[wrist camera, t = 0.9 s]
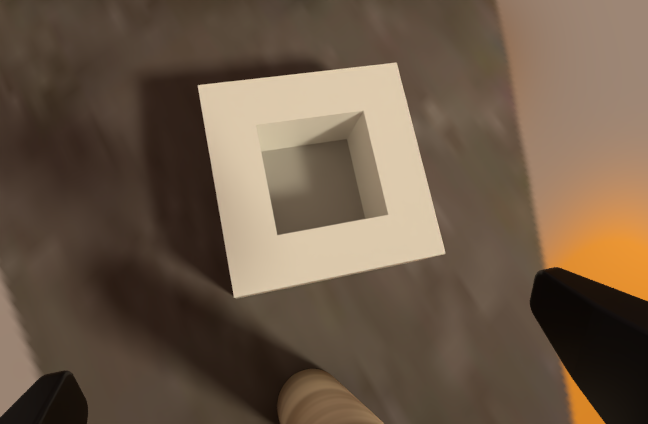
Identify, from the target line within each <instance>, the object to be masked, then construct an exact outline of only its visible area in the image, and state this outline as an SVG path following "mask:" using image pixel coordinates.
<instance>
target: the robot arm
mask: <svg viewBox="0 0 648 424" xmlns="http://www.w3.org/2000/svg"><path fill="white" fill-rule="evenodd" d="M530 307H531V310H532V313H533V315H534V316H535V318H536V320H537V321H538V323H539V325H540V326H541V328H542V330H543V331H544V333H545V335H546V336H547V338H548V340H549V341H550V343H551V344H552V346H553V348H554V349H555V351H556V353H557V354H558V356H559V358H560V359H561V361H562V363H563V364H564V366H565V368H566V369H567V371H568V372H569V374H570V375H571V377H572V378H573V380H574V381H575V383H576V384H577V386H578V387H579V388H580V390H581V391H582V392H583V394H584V395H585V396H586V397H587V399H588V400H589V402H590V403H591V405H592V406H593V407H594V409H595V410H596V411H597V412H598V414H599V415H600V417H601V418H602V419H603V421H604V422H605V423H606V424H648V301H645V300H643V299H640V298H638V297H635V296H632V295H630V294H627V293H625V292H622V291H619V290H617V289H614V288H611V287H609V286H606V285H604V284H601V283H598V282H595V281H593V280H590V279H588V278H585V277H582V276H580V275H577V274H575V273H572V272H569V271H567V270H564V269H562V268H558V267H554V268H549V269H544V270H540V271H538V272H537V274H536V275H535V278H534V283H533V288H532V293H531V298H530ZM87 418H88V405H87V401H86V398H85V397H84V395H83V393H82V391H81V389H80V387H79V385H78V383H77V381H76V379H75V377H74V376H73V374H72V373H71V372H70V371H60V372H55V373H50V374H46V375H44V376H42V377H40V378H39V379H38V380H37V381H36V382H35V383H34V384H33V385H32V386H31V387H30V388H29V389H28V390H27V391H26V392H25V393H24V394H23V395H22V396H21V397H20V398H19V399H18V400H17V401H16V402H15V403H14V404H13V405H12V406H11V407H10V408H9V409H8V410H7V411H6V412H5V413H4V414H3V415H2V416H1V417H0V424H87Z"/></svg>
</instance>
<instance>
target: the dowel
mask: <svg viewBox="0 0 648 424" xmlns="http://www.w3.org/2000/svg"><path fill="white" fill-rule="evenodd" d="M277 412H278V417H279V422H280V424H384V423H383V422H382V421H381V420H380V419H379V418H378V417H376V416H375V415H374V414H373V413H372V412H371V411H370V410H369V409H368V408H367V407H366V406H365V405H363V404H362V403H361V402H360V401H359V400H358V399H357V398H356V397H355V396H354V395H353V394H352V393H350V392H349V391H348V390H347V389H346V388H345V387H344V386H343V385H342V384H341V383H340V382H338V381H337V380H336V379H335V378H334V377H333V376H332V375H330V374H329V373H327V372H325V371H323V370H319V369H306V370H302V371H299V372H297V373H296V374H294V375H293V376H291V377H290V378H289V379H288V380H287V381H286V382H285V384H284V385H283V387H282V389H281V391H280V393H279V397H278V402H277Z"/></svg>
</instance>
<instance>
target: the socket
mask: <svg viewBox="0 0 648 424" xmlns="http://www.w3.org/2000/svg"><path fill="white" fill-rule="evenodd" d="M198 90H199V96H200V102H201V108H202V114H203V120H204V125H205V131H206V137H207V143H208V149H209V155H210V160H211V166H212V172H213V178H214V184H215V189H216V195H217V201H218V207H219V213H220V219H221V224H222V230H223V236H224V242H225V248H226V254H227V259H228V265H229V271H230V277H231V283H232V289H233V294H234V298H237V299H238V298H243V297H248V296H252V295H257V294H262V293H267V292H271V291H276V290H281V289H286V288H290V287H295V286H300V285H305V284H310V283H314V282H319V281H324V280H329V279H333V278H338V277H343V276H348V275H352V274H357V273H362V272H367V271H372V270H376V269H381V268H386V267H391V266H395V265H400V264H405V263H410V262H414V261H418V260H422V259H426V258H430V257H434V256H438V255H442V254H445V250H444V246H443V242H442V238H441V234H440V230H439V226H438V222H437V218H436V215H435V211H434V207H433V203H432V199H431V195H430V191H429V187H428V183H427V179H426V176H425V172H424V168H423V164H422V160H421V156H420V152H419V148H418V144H417V140H416V137H415V133H414V129H413V125H412V121H411V117H410V113H409V109H408V105H407V101H406V98H405V94H404V90H403V86H402V82H401V78H400V74H399V70H398V66H397V63H390V64H381V65H372V66H363V67H355V68H346V69H337V70H328V71H319V72H310V73H302V74H293V75H284V76H275V77H266V78H257V79H248V80H240V81H231V82H222V83H213V84H204V85H198Z"/></svg>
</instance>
